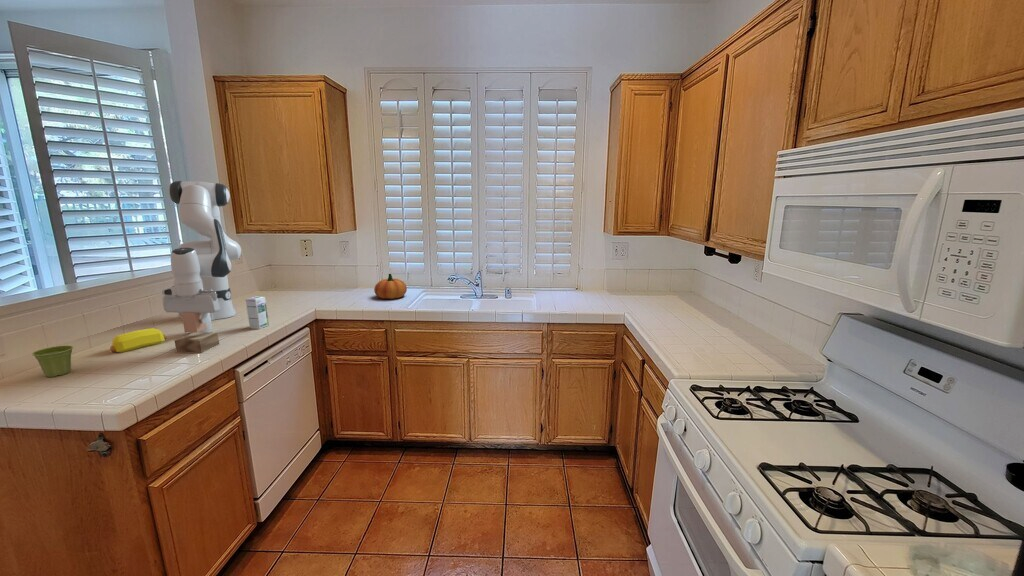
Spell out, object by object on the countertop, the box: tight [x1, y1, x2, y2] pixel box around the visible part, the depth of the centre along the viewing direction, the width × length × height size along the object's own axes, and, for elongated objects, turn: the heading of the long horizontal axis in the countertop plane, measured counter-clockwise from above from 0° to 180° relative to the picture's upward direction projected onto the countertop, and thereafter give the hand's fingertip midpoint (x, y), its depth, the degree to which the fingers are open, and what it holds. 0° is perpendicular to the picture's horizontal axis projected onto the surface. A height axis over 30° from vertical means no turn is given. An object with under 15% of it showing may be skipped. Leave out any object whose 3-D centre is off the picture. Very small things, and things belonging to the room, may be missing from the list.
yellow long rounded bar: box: [109, 327, 167, 353], centre depth 168 cm, size 18×7×8 cm
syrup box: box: [245, 295, 270, 330], centre depth 194 cm, size 6×6×14 cm
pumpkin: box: [373, 273, 408, 300], centre depth 256 cm, size 19×19×15 cm
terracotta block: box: [181, 312, 207, 333], centre depth 165 cm, size 5×5×8 cm
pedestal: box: [174, 332, 220, 354], centre depth 166 cm, size 10×10×5 cm
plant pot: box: [31, 345, 74, 378], centre depth 141 cm, size 9×9×9 cm
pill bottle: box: [190, 313, 213, 334], centre depth 184 cm, size 8×8×15 cm
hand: (194, 322), depth 165 cm, fingers closed on terracotta block, 5 cm apart
